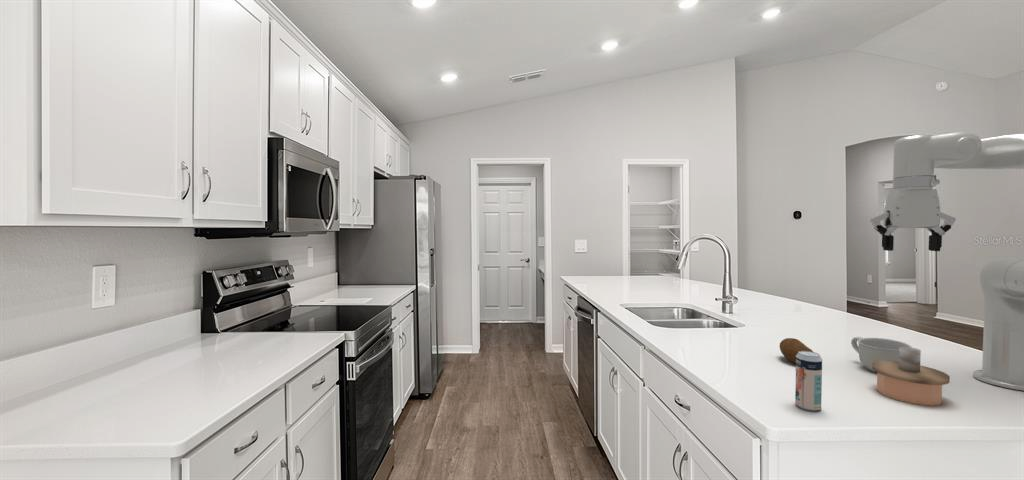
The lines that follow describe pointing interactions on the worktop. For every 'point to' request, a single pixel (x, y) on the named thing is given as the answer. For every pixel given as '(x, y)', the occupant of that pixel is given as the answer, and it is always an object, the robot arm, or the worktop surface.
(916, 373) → the lid
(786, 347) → the potato
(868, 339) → the teacup
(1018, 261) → the robot arm
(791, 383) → the worktop surface
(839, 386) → the worktop surface
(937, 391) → the bowl
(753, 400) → the worktop surface
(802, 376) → the beer can
